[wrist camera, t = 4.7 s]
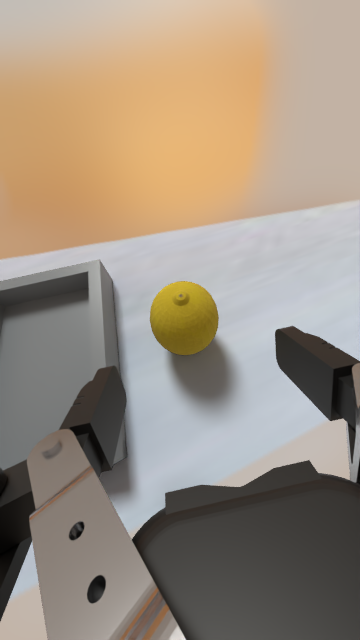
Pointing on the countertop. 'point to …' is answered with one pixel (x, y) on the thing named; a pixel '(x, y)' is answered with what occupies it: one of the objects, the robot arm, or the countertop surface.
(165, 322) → the lemon
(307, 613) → the robot arm
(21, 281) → the tray
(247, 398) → the countertop surface
